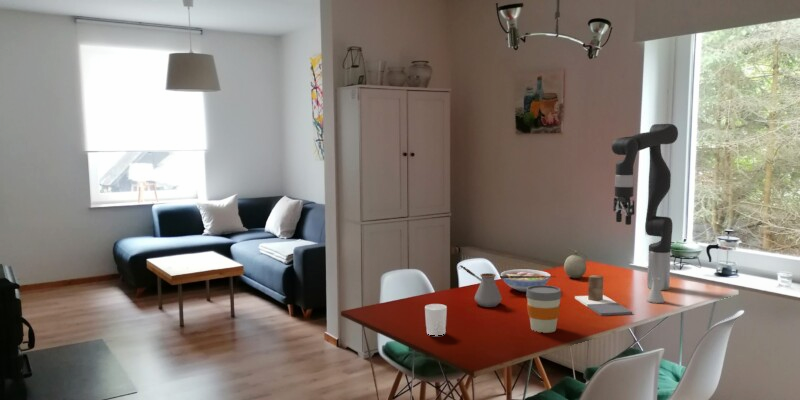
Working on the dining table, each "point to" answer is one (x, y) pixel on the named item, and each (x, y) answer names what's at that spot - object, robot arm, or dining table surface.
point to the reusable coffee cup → (543, 307)
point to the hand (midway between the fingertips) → (623, 223)
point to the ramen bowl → (524, 278)
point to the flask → (655, 292)
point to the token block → (595, 288)
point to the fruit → (575, 265)
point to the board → (604, 306)
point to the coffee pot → (486, 290)
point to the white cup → (435, 319)
